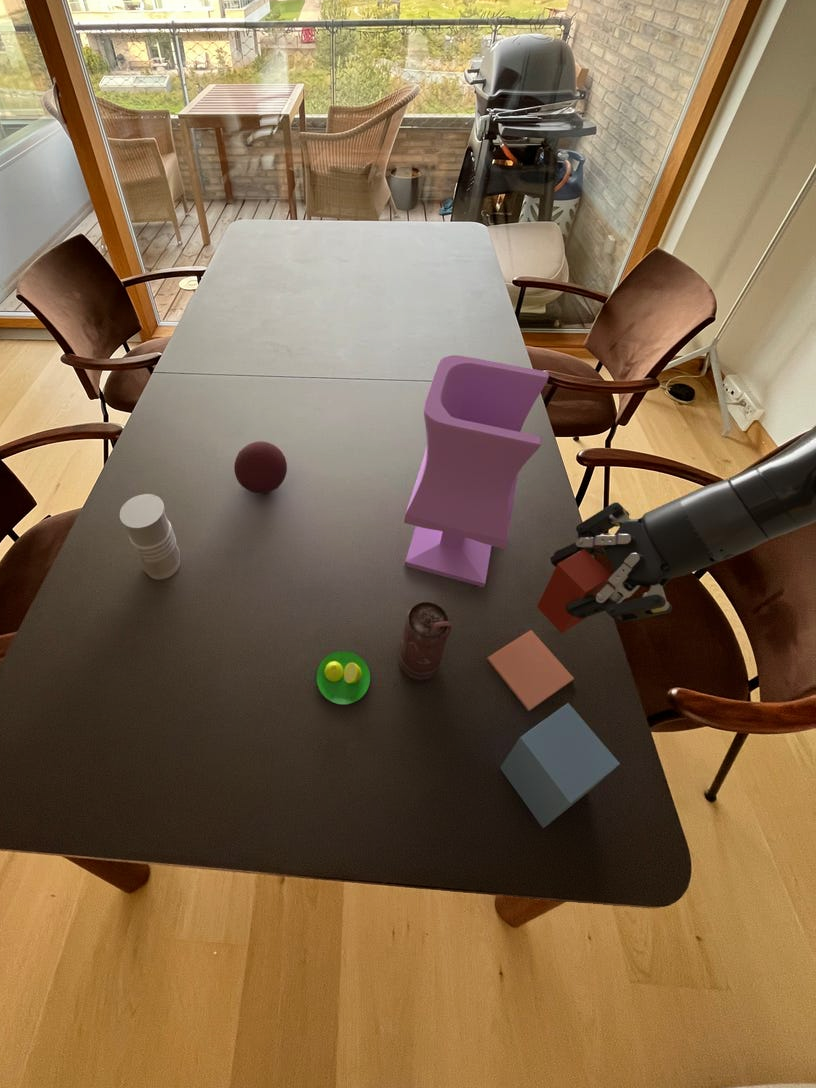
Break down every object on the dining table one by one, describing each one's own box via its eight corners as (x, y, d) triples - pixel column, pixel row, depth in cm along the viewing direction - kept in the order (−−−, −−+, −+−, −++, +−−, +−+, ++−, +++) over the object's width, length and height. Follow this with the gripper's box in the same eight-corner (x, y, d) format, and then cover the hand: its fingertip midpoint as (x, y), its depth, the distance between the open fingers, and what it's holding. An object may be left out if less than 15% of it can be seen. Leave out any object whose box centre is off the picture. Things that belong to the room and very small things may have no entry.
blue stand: (588, 792, 74) (620, 763, 66) (543, 828, 72) (570, 803, 63) (543, 736, 79) (568, 702, 71) (499, 768, 76) (520, 737, 68)
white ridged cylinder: (133, 569, 99) (109, 515, 88) (163, 542, 103) (143, 487, 92) (161, 589, 96) (139, 535, 85) (191, 560, 100) (173, 505, 89)
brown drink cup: (442, 685, 84) (456, 641, 74) (399, 684, 84) (407, 640, 74) (437, 646, 89) (450, 599, 79) (396, 645, 89) (404, 599, 79)
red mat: (573, 680, 85) (574, 678, 84) (528, 711, 82) (529, 710, 81) (530, 631, 90) (531, 629, 90) (486, 659, 87) (487, 657, 87)
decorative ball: (280, 508, 108) (276, 472, 101) (230, 499, 110) (222, 463, 102) (294, 470, 115) (291, 434, 108) (247, 462, 116) (241, 427, 109)
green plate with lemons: (365, 649, 88) (366, 641, 86) (374, 702, 83) (375, 694, 81) (314, 656, 88) (313, 647, 86) (319, 709, 82) (318, 701, 80)
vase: (488, 593, 95) (542, 445, 70) (397, 568, 99) (418, 418, 74) (500, 522, 105) (550, 371, 81) (417, 502, 109) (441, 351, 84)
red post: (586, 618, 73) (612, 575, 66) (561, 634, 72) (585, 592, 65) (561, 591, 76) (583, 548, 69) (536, 606, 74) (557, 563, 67)
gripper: (660, 461, 64) (530, 526, 73) (722, 571, 54) (562, 632, 62) (687, 492, 68) (560, 550, 76) (749, 600, 58) (595, 653, 66)
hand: (561, 586), depth 69 cm, fingers closed on red post, 6 cm apart
